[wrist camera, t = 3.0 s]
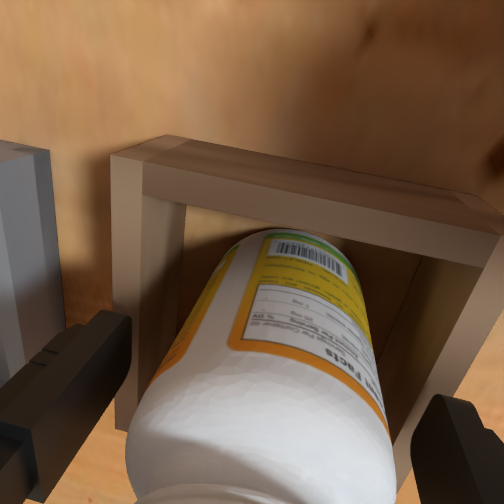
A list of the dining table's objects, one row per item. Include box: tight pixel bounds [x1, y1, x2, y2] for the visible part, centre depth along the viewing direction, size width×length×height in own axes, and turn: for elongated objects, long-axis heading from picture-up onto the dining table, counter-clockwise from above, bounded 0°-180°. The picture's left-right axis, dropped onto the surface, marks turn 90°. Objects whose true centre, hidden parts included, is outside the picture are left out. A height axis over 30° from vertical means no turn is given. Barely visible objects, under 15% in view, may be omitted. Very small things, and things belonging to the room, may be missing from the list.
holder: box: [110, 135, 504, 495], centre depth 12 cm, size 10×10×4 cm
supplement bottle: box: [125, 229, 396, 504], centre depth 9 cm, size 5×5×10 cm
